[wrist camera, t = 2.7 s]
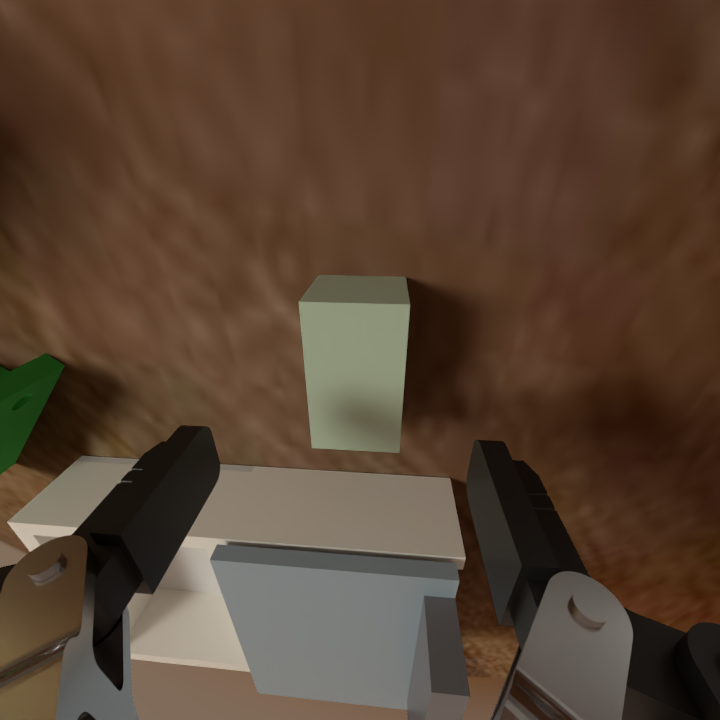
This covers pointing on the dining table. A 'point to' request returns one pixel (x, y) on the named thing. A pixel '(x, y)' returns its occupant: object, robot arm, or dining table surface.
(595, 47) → the dining table surface
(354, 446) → the pale green block
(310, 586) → the lid
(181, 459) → the robot arm
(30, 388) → the pipe clamp
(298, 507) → the housing
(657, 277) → the dining table surface
